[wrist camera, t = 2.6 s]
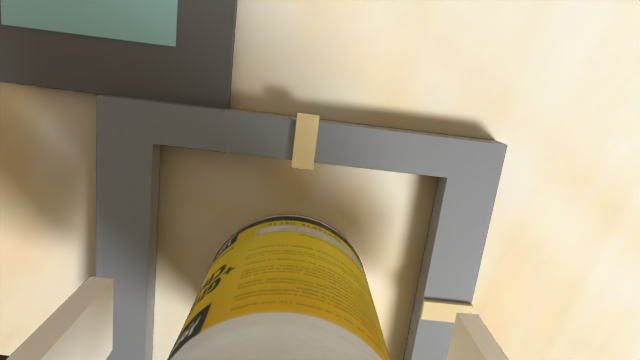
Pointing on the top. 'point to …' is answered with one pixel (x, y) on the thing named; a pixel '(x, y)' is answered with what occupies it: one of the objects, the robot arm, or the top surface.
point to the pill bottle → (283, 298)
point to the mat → (122, 47)
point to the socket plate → (303, 149)
